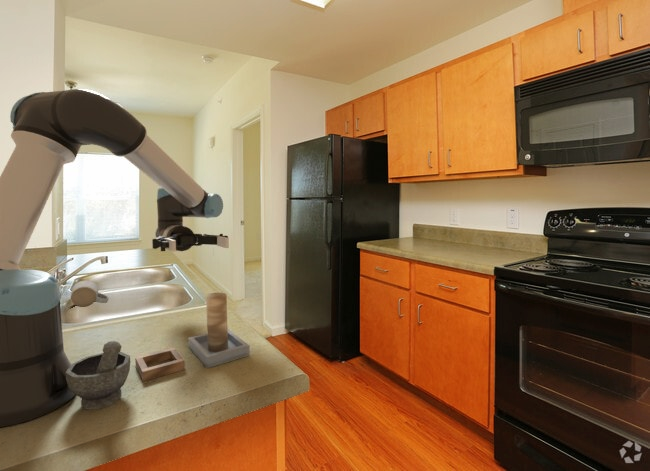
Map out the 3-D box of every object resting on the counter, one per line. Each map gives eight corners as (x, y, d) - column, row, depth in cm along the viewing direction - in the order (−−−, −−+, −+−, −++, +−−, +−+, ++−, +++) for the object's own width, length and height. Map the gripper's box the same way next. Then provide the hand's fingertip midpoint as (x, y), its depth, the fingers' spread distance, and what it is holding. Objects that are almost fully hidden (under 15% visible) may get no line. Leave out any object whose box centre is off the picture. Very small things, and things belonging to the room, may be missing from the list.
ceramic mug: (70, 309, 113) (69, 286, 112) (72, 303, 120) (71, 281, 119) (109, 305, 119) (108, 283, 118) (108, 299, 126) (107, 278, 125)
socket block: (143, 381, 70) (142, 371, 70) (135, 365, 76) (135, 357, 76) (184, 369, 75) (184, 360, 74) (174, 355, 81) (174, 347, 81)
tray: (207, 368, 75) (206, 357, 75) (188, 347, 85) (188, 337, 85) (249, 355, 81) (249, 345, 81) (227, 337, 92) (227, 328, 91)
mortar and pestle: (60, 403, 62) (54, 339, 61) (114, 380, 70) (110, 323, 69) (90, 425, 56) (85, 355, 55) (146, 397, 64) (142, 335, 63)
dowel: (212, 354, 80) (210, 299, 79) (205, 347, 84) (203, 294, 82) (231, 348, 83) (229, 295, 81) (223, 342, 87) (222, 291, 85)
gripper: (218, 247, 114) (246, 255, 98) (133, 252, 99) (149, 263, 82) (218, 224, 114) (246, 228, 97) (132, 226, 99) (148, 231, 82)
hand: (202, 244), depth 90 cm, fingers open, 13 cm apart
